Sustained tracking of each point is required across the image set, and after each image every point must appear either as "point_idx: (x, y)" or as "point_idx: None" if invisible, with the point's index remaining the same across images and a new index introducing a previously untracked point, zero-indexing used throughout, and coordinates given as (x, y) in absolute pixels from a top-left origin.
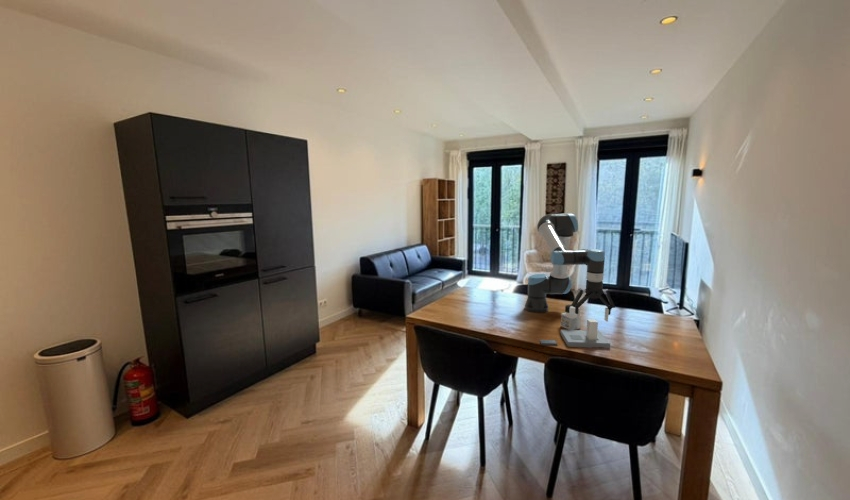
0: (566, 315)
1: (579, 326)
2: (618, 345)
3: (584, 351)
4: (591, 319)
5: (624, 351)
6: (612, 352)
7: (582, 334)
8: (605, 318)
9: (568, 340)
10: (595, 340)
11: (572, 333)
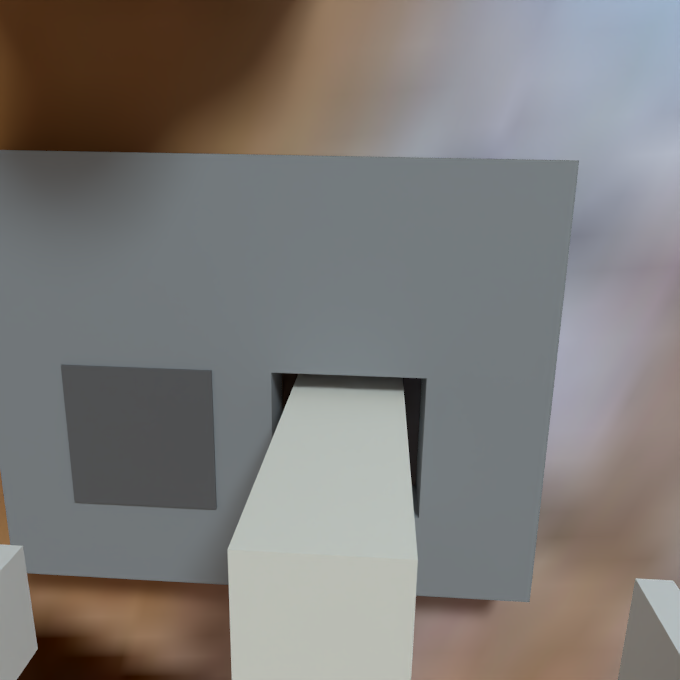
0: None
1: None
2: (660, 487)
3: (200, 639)
4: (321, 576)
5: None
6: (492, 655)
7: (255, 330)
8: (646, 668)
9: (24, 532)
10: None
11: (116, 300)
